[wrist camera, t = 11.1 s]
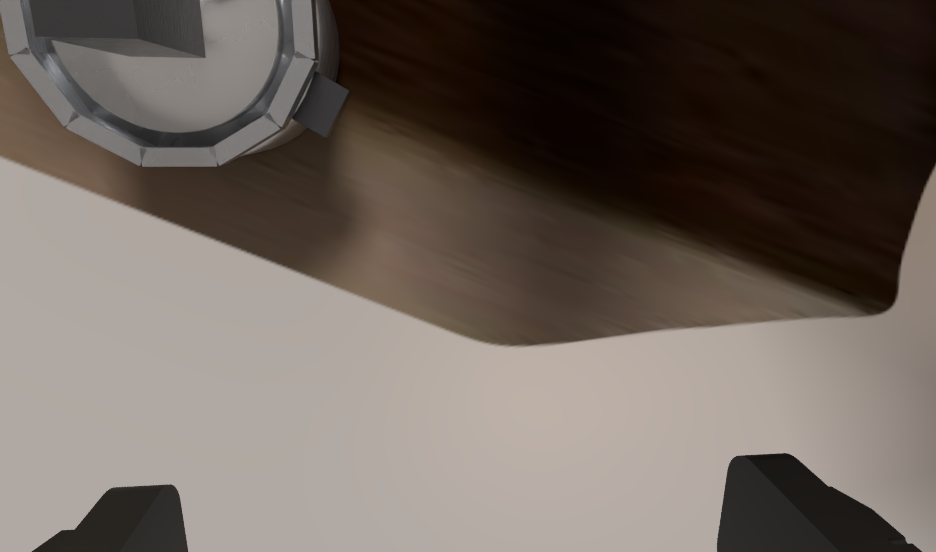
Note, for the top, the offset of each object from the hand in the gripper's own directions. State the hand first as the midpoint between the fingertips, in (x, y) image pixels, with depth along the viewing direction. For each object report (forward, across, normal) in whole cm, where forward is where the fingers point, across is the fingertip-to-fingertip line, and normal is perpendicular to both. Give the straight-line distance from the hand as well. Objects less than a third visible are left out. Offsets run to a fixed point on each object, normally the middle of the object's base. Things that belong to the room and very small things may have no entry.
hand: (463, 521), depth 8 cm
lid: (+20, +10, -10) cm, 25 cm away
